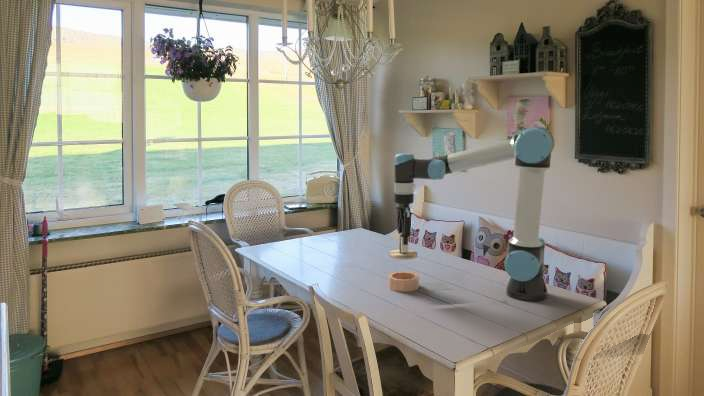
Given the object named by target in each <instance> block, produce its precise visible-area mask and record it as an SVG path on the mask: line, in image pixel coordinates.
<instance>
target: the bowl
mask: <svg viewBox="0 0 704 396" xmlns="http://www.w3.org/2000/svg"><path fill="white" fill-rule="evenodd" d="M387 287H388V288H389V290H392V291H395V292H401V293H402V292H403V293H404V292H414V291H417V290H418V289H419V288H420V276H419V274H418V273H415V272H411V271H395V272H391V273H389V274H388V275H387Z"/></svg>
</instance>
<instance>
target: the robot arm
mask: <svg viewBox="0 0 704 396" xmlns="http://www.w3.org/2000/svg"><path fill="white" fill-rule="evenodd" d="M554 148H555V138H554V136H553V134H552V133H551V132H550V131H549V130H548V129H546V128H544V127H529V128H526V129H524V130H523V131H521V132H520V133H518V134H515V135H513V136H512V138H511V139H506V140H502V141H497V142H493V143H490V144H485V145H482V146H477V147H473V148H470V149H464V150H461V151H457V152H453V153H448V154H445V155H441V156H440V155H439V156H436V157H434V158H433V157H432V158H429V159H428V158H427V159H419V158H415V155H414V153H403V152H402V153H397V154H396V155H395V156H394V165H393V167H394V183H393V185H394V186H393V187H394V194H393V195H394V199H393V200H394V201H393V202H394V203H395V204H398V206H396V208H395V210H396V226H397V227H396V231H397V232H398V250H400V236H401V253H407V252H408V250H409V237H411V229H412V228H411V225H412V222H411V221H412V214H413V212H412V211H411V209H410V206H409V205H410V204H411V205H412V204H413V203H414V199H415V198H414V188H415V186H416V184H414V181H415V179H416V180H417V179H419V180H420V179H422V180H433V181H435V180H442V179H444V178H445V175H449V174H453V173H457V172H461V171H466V170H471V169H475V168H481V167H484V166H489V165H494V164H496V163H498V164H499V163H502V162H503V163H504V162H506V161H510V160H515V161H514V167H516V169H517V170H518V177H517V178H518V179H517V188H516V189H517V190H516V198H515V199H516V201H515V210H514V212H515V214H514V223H513V232H512V233H513V234H512V237H510V238H509V239H508V242H507V250H506V253H507V255H506V257H505V259H504V269H505V271H506V274H507V275H509V277H510V278H509V279H508V280H509V281H508V283H507V285H506V292H505V293H506V295H507V296H509V297H510V298H513V299H515V300H520V301H527V302H531V301H532V302H533V301H534V302H535V301H536V302H537V301H543V300H545V299H547V298H548V288H547V285H546V281H545V279H544V270H545V269H544V268H545V266H544V265H545V263H544V262H545V248H546V242H545V239H544V238H543V237H539V235H540V234H539V233H540V224H541V223H540V222H541V216H542V215H541V214H542V213H541V212H542V206H543V205H542V204H543V203H542V202H543V192H544V183H545V173H546V172H547V171H548V170H549V169H550V168H551V158H552V152H553V149H554ZM400 233H402V235H400Z"/></svg>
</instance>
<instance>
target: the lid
mask: <svg viewBox="0 0 704 396" xmlns="http://www.w3.org/2000/svg"><path fill="white" fill-rule="evenodd" d="M400 235H402V233H400ZM389 257H390V258H392V259H395V260H413V259H416V258H417V257H418V252H417V251H416V250H412V249H408V252H407V253H401V236H400V250H399V249H394V250H391V251H389Z"/></svg>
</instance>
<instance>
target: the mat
mask: <svg viewBox="0 0 704 396" xmlns="http://www.w3.org/2000/svg"><path fill="white" fill-rule="evenodd" d="M419 285H421V286H423V288H425V290H427V292H433V291H447V290H449V291H450V290H452V288H451V286H449V285H448V284H447V283H446V282H445V281H433V282H419Z"/></svg>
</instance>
